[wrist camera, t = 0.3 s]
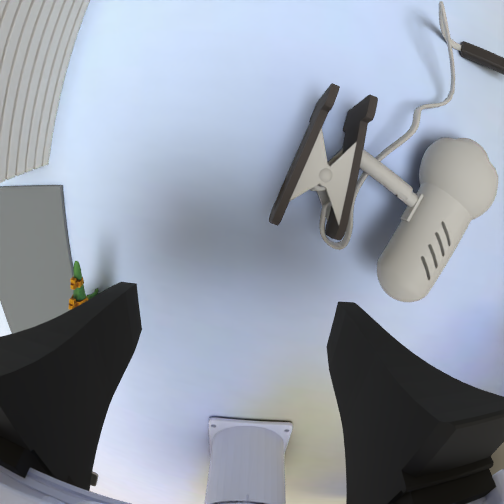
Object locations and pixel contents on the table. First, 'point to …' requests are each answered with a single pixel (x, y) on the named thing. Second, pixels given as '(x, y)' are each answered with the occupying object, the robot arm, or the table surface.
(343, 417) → the robot arm
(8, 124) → the stack of papers
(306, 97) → the table surface
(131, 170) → the table surface
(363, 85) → the table surface
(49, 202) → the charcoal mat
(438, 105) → the clip-on lamp
